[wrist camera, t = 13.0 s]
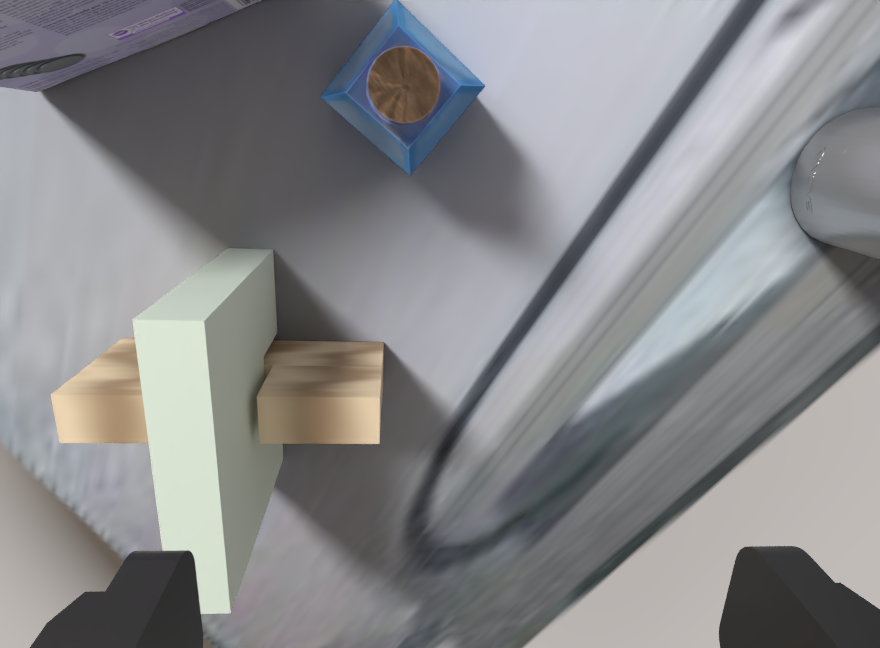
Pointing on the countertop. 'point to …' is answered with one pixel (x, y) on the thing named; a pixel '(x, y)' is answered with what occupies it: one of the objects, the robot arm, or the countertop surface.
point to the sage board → (211, 415)
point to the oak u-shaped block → (279, 400)
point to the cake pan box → (91, 34)
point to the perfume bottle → (402, 88)
